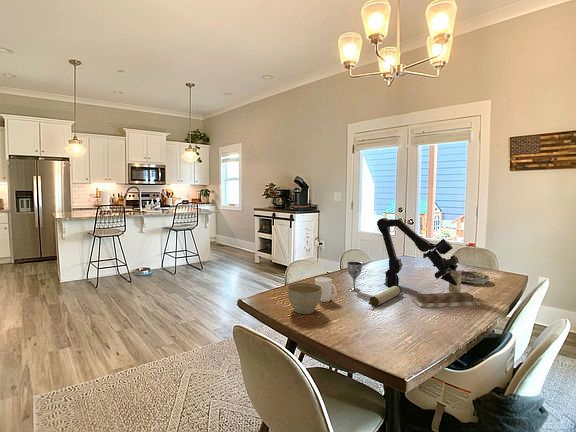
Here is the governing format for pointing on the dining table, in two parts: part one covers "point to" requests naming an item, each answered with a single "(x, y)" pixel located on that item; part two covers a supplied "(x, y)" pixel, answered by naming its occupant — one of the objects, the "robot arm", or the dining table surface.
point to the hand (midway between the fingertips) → (457, 284)
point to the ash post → (457, 277)
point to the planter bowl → (304, 297)
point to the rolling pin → (384, 296)
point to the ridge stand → (445, 300)
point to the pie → (473, 277)
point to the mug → (326, 288)
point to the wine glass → (354, 273)
